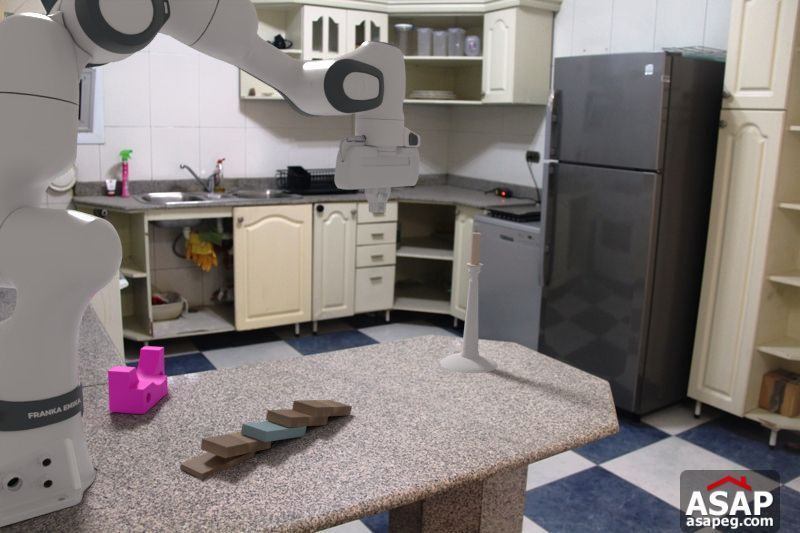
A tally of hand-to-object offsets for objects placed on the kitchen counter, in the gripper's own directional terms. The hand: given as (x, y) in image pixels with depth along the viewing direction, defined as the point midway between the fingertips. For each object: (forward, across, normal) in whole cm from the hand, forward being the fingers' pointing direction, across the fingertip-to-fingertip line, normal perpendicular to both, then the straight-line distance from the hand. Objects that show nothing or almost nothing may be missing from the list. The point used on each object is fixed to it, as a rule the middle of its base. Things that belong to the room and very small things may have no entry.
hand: (377, 212), depth 133 cm
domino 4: (+34, -17, -2) cm, 38 cm away
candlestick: (+35, +27, -5) cm, 45 cm away
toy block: (+36, -30, +30) cm, 55 cm away
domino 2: (+35, -33, -2) cm, 48 cm away
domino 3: (+34, -23, -2) cm, 41 cm away
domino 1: (+34, -30, -2) cm, 46 cm away
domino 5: (+34, -11, -2) cm, 36 cm away
